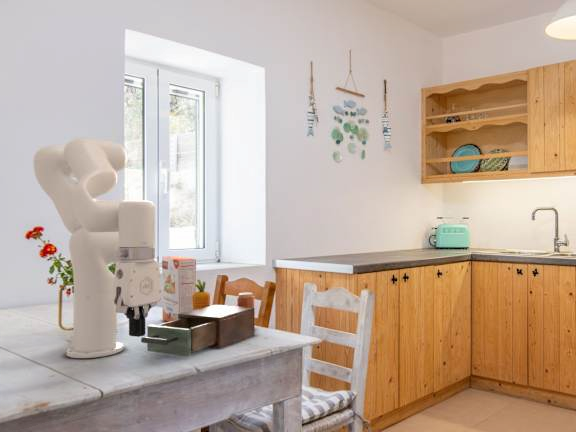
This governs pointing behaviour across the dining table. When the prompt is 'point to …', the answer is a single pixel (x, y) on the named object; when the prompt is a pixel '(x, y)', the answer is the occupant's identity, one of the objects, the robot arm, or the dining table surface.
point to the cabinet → (226, 322)
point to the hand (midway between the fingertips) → (137, 335)
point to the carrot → (201, 297)
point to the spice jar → (245, 300)
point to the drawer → (181, 336)
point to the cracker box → (177, 285)
